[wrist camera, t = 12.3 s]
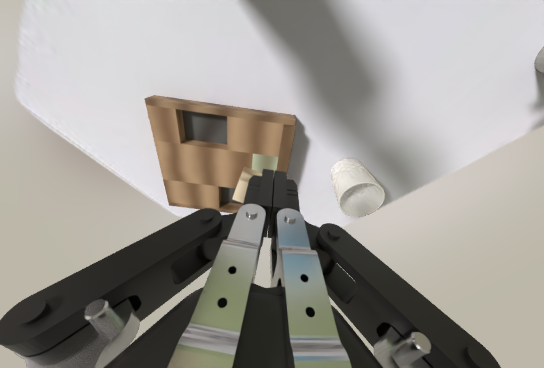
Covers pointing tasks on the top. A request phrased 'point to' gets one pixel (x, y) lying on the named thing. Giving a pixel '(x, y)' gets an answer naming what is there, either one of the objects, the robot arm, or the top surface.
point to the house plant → (540, 61)
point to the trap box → (215, 148)
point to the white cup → (356, 188)
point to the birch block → (244, 183)
